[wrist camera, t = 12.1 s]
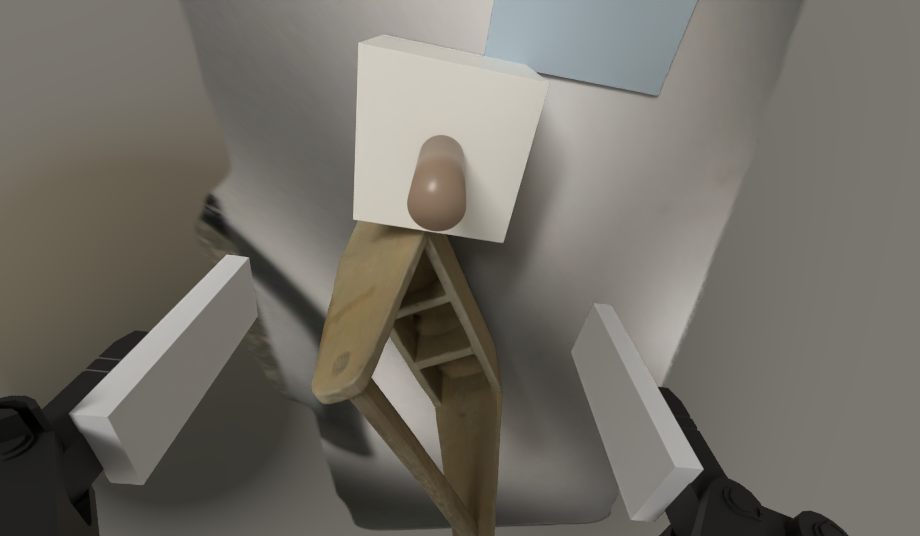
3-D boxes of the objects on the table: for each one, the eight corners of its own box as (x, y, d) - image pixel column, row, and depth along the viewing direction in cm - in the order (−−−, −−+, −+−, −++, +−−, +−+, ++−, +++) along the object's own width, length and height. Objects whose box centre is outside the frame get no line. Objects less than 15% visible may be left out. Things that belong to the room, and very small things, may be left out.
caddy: (497, 346, 64) (526, 557, 38) (438, 362, 66) (428, 573, 40) (430, 192, 49) (404, 370, 24) (356, 218, 51) (259, 410, 25)
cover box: (384, 34, 39) (319, 55, 21) (526, 64, 41) (584, 109, 22) (375, 174, 47) (323, 278, 29) (493, 195, 49) (515, 305, 31)
